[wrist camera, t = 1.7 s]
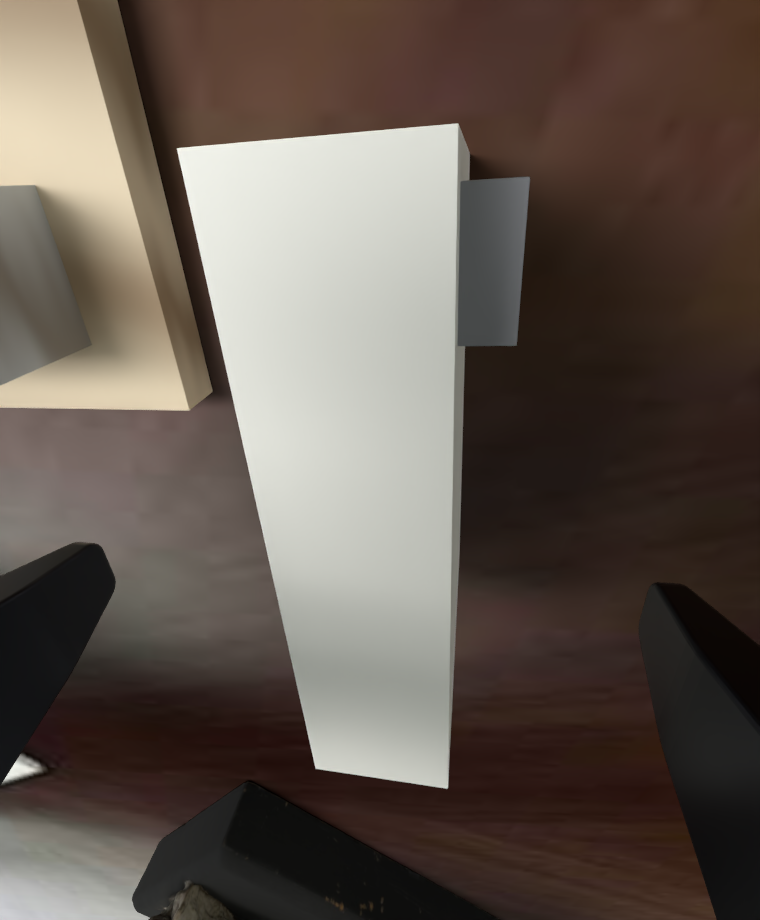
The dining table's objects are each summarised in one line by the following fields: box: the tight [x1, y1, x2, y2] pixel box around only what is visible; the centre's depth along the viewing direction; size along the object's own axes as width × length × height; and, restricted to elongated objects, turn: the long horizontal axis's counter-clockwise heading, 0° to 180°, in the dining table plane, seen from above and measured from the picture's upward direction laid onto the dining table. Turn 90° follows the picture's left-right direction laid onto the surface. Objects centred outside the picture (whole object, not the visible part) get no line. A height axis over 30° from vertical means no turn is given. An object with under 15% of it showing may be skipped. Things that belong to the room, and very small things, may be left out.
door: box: [177, 124, 530, 789], centre depth 11 cm, size 12×4×8 cm, turn 4°
